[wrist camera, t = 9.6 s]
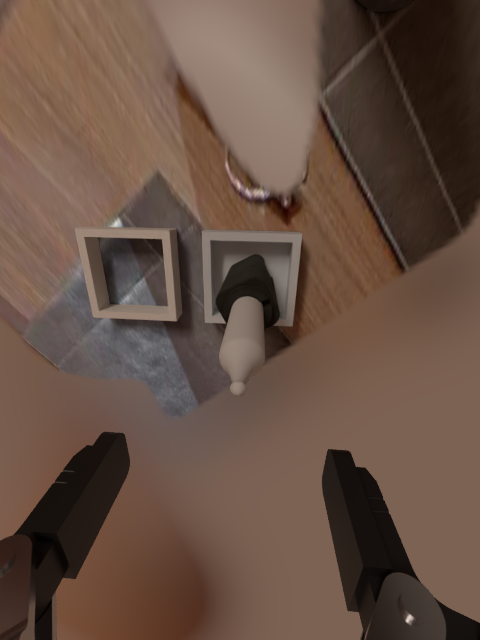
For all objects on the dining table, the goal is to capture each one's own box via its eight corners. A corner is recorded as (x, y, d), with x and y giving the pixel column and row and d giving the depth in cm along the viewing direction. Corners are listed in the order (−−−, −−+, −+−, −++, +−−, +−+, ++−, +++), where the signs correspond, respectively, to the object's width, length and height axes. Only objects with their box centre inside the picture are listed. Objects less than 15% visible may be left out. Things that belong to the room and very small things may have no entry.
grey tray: (206, 229, 35) (201, 231, 33) (298, 231, 35) (302, 234, 32) (208, 314, 40) (205, 322, 37) (290, 318, 39) (292, 326, 36)
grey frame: (88, 226, 36) (74, 228, 33) (176, 228, 36) (169, 230, 33) (104, 309, 41) (93, 317, 38) (182, 313, 40) (176, 321, 37)
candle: (276, 284, 37) (303, 413, 14) (242, 300, 38) (218, 442, 15) (260, 250, 35) (262, 333, 12) (226, 267, 37) (169, 372, 14)
